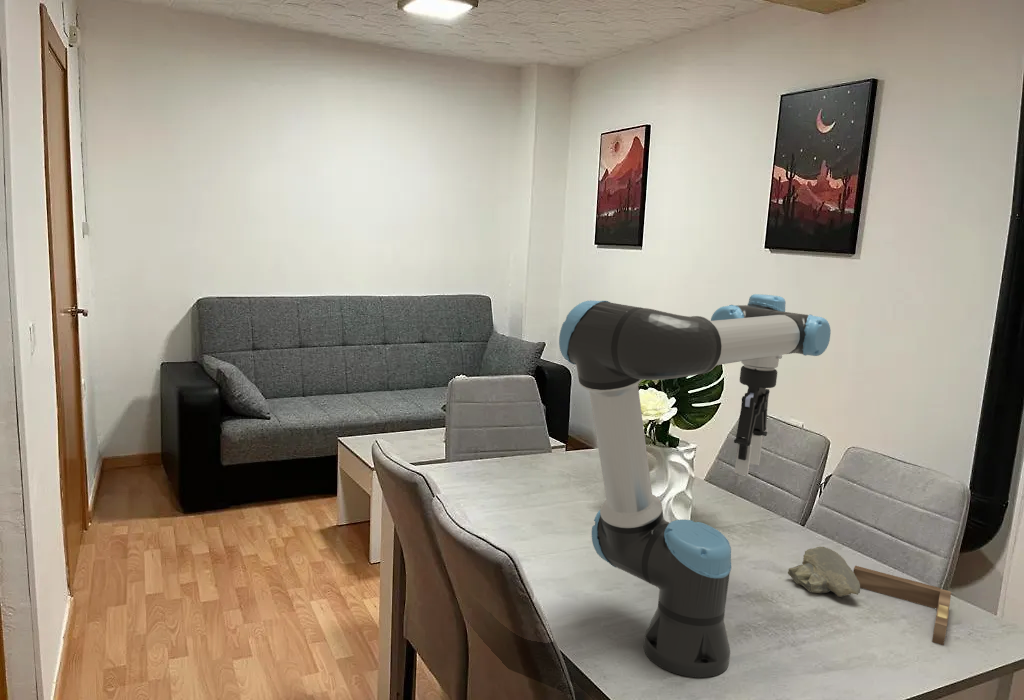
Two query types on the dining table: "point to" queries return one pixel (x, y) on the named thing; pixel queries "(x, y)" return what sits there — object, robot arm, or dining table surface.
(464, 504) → the dining table surface
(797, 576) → the jagged rock
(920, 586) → the brown wooden l-shaped piece
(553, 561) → the dining table surface
